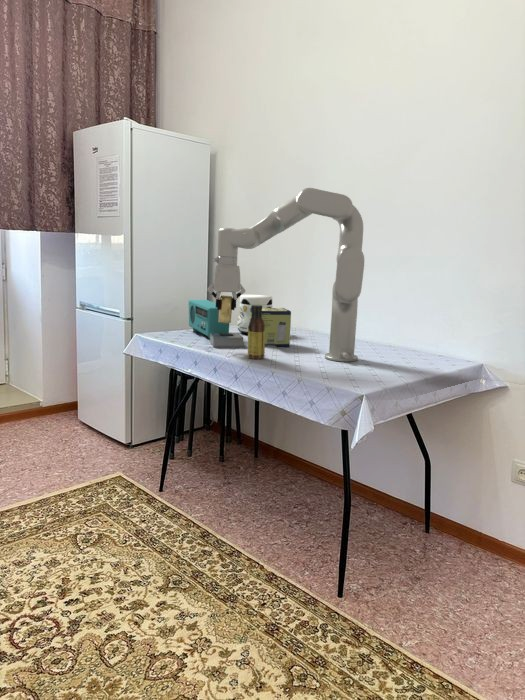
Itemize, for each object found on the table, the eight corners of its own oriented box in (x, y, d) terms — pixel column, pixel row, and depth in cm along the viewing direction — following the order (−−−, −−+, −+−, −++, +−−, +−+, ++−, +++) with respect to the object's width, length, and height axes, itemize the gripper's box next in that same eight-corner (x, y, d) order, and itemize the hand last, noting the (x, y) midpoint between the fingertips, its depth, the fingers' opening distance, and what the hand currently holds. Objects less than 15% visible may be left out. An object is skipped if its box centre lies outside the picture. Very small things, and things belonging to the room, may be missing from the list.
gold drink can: (231, 323, 204) (233, 297, 202) (219, 322, 203) (221, 296, 201) (229, 321, 209) (231, 295, 207) (217, 320, 208) (219, 295, 206)
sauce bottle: (256, 355, 204) (258, 303, 200) (267, 358, 200) (269, 305, 196) (243, 357, 200) (245, 304, 196) (255, 360, 195) (257, 306, 191)
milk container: (229, 332, 257) (230, 295, 254) (256, 329, 269) (257, 293, 265) (253, 337, 245) (254, 298, 241) (280, 334, 256) (282, 297, 253)
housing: (243, 349, 215) (243, 337, 214) (213, 349, 212) (213, 337, 211) (238, 344, 226) (238, 332, 225) (209, 344, 224) (210, 332, 223)
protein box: (248, 343, 230) (249, 307, 227) (283, 343, 234) (284, 307, 231) (254, 348, 220) (255, 310, 217) (290, 347, 224) (292, 310, 221)
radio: (186, 330, 257) (186, 299, 255) (206, 330, 261) (207, 299, 259) (206, 343, 227) (207, 308, 224) (229, 342, 231) (230, 307, 228)
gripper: (205, 261, 196) (204, 310, 200) (251, 262, 200) (249, 311, 203) (203, 260, 203) (202, 308, 207) (247, 262, 207) (245, 309, 210)
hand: (225, 309), depth 205 cm, fingers closed on gold drink can, 4 cm apart
